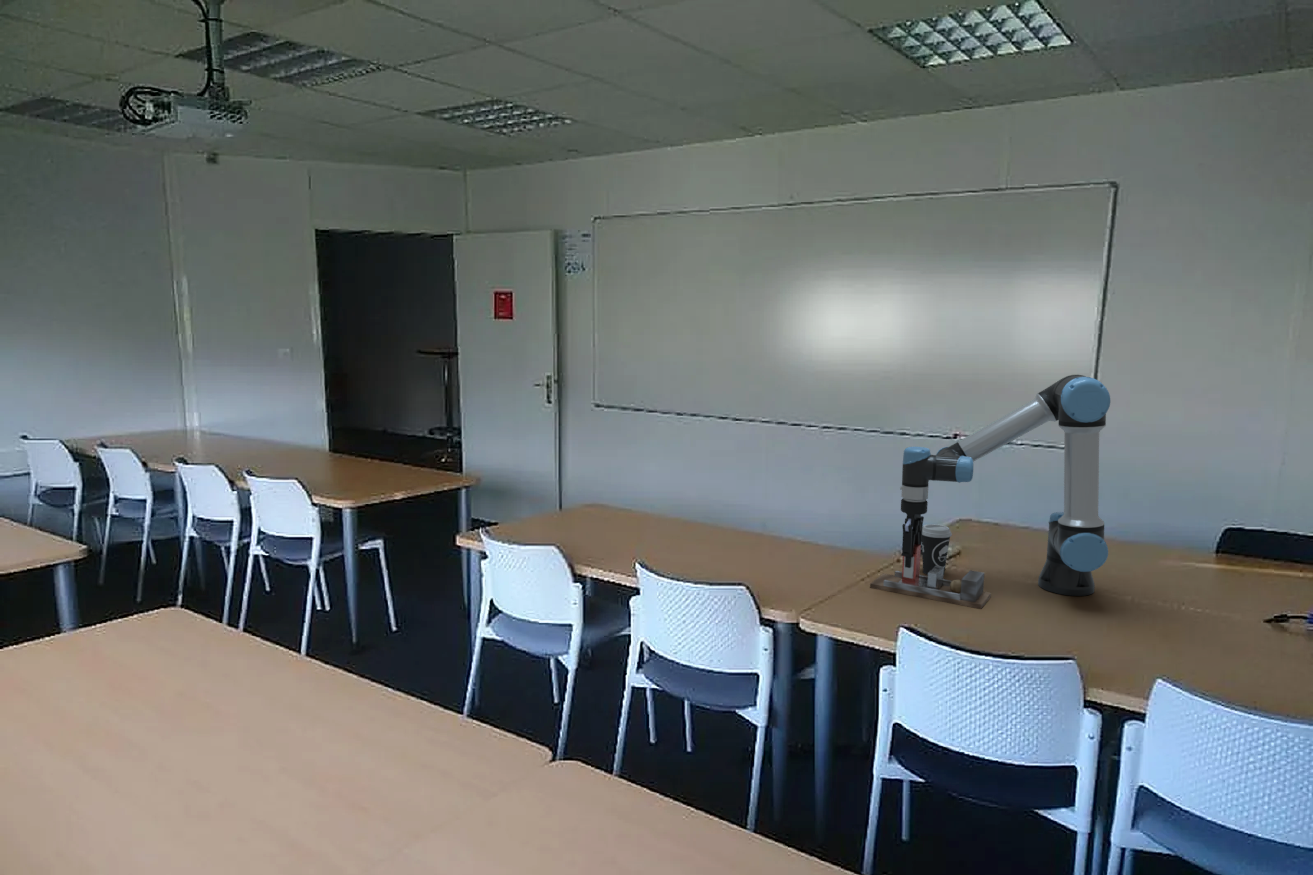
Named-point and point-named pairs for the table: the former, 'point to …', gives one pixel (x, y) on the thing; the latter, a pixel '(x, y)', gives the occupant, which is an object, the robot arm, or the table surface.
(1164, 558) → the table surface
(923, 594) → the bench
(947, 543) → the coffee cup
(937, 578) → the ram
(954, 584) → the nut
